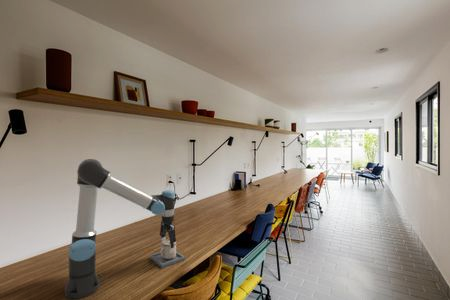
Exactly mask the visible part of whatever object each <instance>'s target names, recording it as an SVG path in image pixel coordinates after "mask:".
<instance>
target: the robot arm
mask: <svg viewBox="0 0 450 300" xmlns="http://www.w3.org/2000/svg"><path fill="white" fill-rule="evenodd" d="M76 172H77V178H76V179H77V180H76V181H77V183H76V185H78V186H79V194H78V203H77V206H78V207H77V213H76V214H77V216H76V226H75V231H73V233H72V236H71V244H70V246H69V249H68V278H67V281H66V284H65V288H64V296H65V297H66V298H68V299H71V300H72V299H74V300H75V299H82V298H86V297H88V296H90V295H92V294H94V293H95V292H97V291H98V289H99V288H100V278H99V276H98V275H97V272H96V266H97V265H96V261H97V260H96V257H97V256H96V252H97V251H96V250H97V246H96V244H97V243H96V241H97V231H96V230H95V219H96V210H97V209H96V208H97V197H98V189H99V190H100V189H104V190H107V191H108V192H110V193H113V194H114V195H117V196H118V197H121V198H122V199H125V200H127V201H129V202H131V203H132V204H135V205H137V206H140V207H141V208H143V209H146V210H147V211H149V212H151V214H153V215H155V216H161V221H160V229H159V236H160V237H161V245H160V246H161V248H162V242H163V241H164V240H167V234H168V238H169V240H170V243H169V253H173V252H174V243H175V242H177V239H176V226H175V225H173V222H174V220H175V216H174V215H175V192H174V191H173V190H167V189H166V190H163V191H162V192H161V194H152V195H150V194H148V193H147V192H144V191H142V190H140V189H139V188H137V187H135V186H133V185H131V184H129V183H127V182H125V181H124V180H122V179H120V178H118V177H116V176H114V175H112V172H110V171H109V170H107V169H106V168H105V167H103V165H102V164H101V162H100V161H99V160H97V159H94V158H87V159H84V160H82V162H80V163H79V165H78V168H77V171H76ZM161 248H160V249H161Z"/></svg>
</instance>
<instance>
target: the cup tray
mask: <svg viewBox="0 0 450 300" xmlns="http://www.w3.org/2000/svg"><path fill="white" fill-rule="evenodd" d="M149 260H151V262H153V263H155V264H156V265H157V266H158V267H160V269H164V268H167V267H169V266H171V265H174V264H177V263H180V262H183V261H185V260H186V256H185V255H183V254H182V253H180V252H179V251H177V250H176V256H175V257H174V258H171V259H165V258H163V257H162V255H161V254H160V251H158V252H156V253H152V254H149Z"/></svg>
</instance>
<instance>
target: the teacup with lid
mask: <svg viewBox="0 0 450 300" xmlns="http://www.w3.org/2000/svg"><path fill="white" fill-rule="evenodd" d="M169 243H170V240H169V237H168V238H166V240H164V241H163V242H162V248H160V251H159V252H160V254H161V255H162V257H163V258H165V259H171V258H174V257H175V256H176V251H177V243H178V242H177V241H176V242H175V243H174V252H173V253H169Z"/></svg>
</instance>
